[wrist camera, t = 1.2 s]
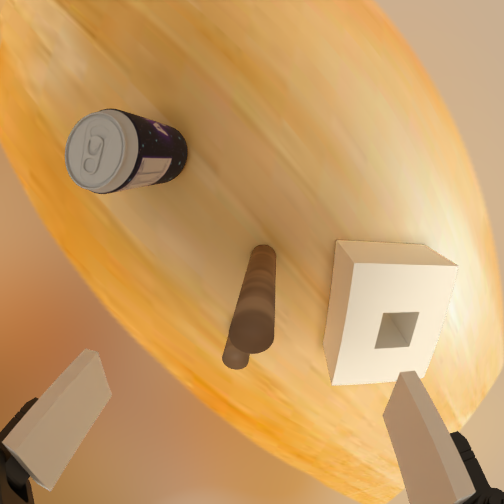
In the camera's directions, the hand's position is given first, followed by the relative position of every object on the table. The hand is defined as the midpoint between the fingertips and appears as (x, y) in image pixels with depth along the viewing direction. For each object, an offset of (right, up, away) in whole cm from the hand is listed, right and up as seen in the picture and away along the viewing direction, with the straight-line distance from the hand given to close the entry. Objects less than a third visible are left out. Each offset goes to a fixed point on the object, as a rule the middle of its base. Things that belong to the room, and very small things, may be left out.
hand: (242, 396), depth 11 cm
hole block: (+13, +1, +18) cm, 22 cm away
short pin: (-1, -2, +20) cm, 20 cm away
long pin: (+2, +6, +18) cm, 18 cm away
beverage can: (-8, +16, +16) cm, 24 cm away
